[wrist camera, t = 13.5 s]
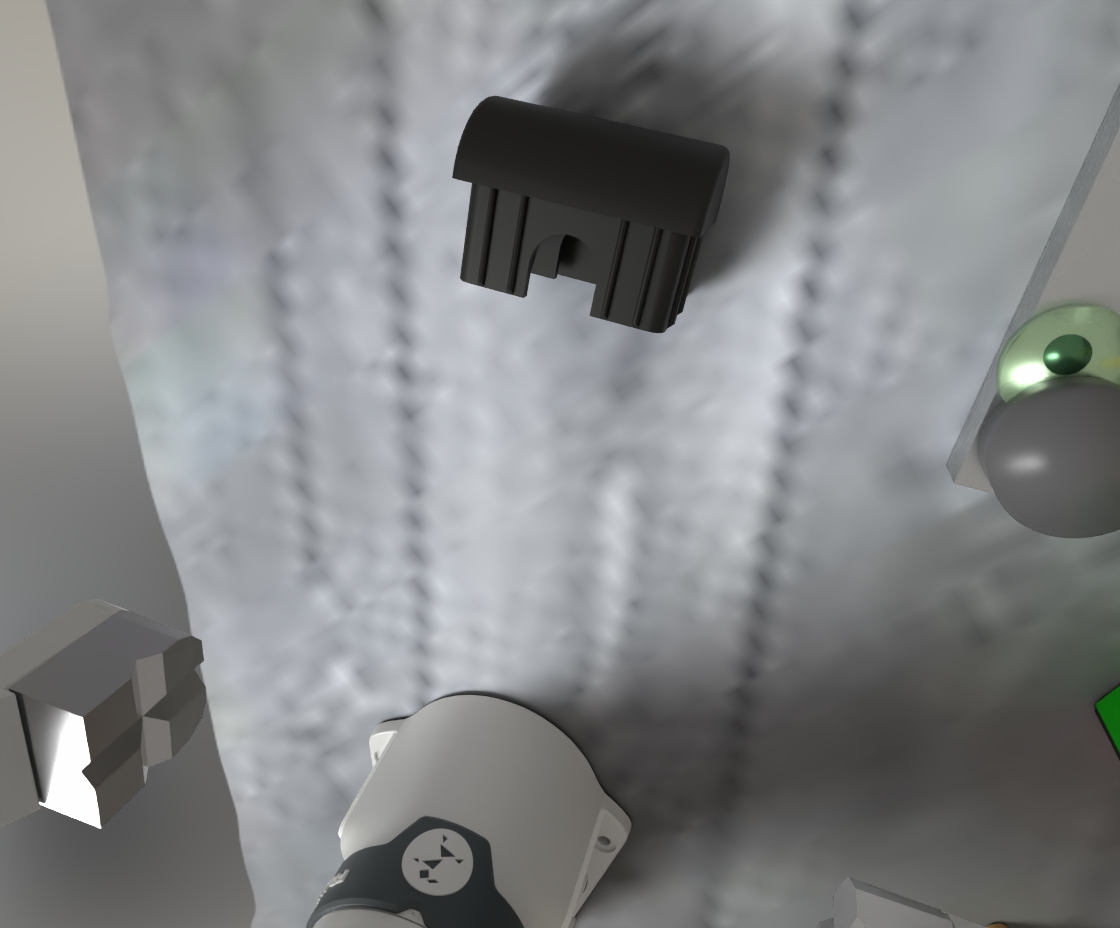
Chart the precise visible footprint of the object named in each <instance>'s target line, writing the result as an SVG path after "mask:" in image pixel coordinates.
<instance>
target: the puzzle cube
mask: <svg viewBox="0 0 1120 928" xmlns="http://www.w3.org/2000/svg"><path fill="white" fill-rule="evenodd" d="M1094 705H1095V713H1096V715H1097V717H1098V719H1099V721H1100V723H1101V725H1102V727H1103V729H1104V730H1105V732H1106V734H1107V736H1108V738H1109V740H1110V742H1111V744H1112V746H1113V748H1114V750H1115V752H1116V754H1117V756H1118V758H1119V760H1120V685H1119V686H1118V687H1117V688H1115V689H1114V690H1113V691H1111V692H1110V693H1109V694H1108V695H1106V696H1105V697H1104V698H1102V699H1101V700H1100V701H1098V702H1097V703H1096V704H1094Z"/></svg>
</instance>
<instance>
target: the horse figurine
mask: <svg viewBox="0 0 1120 928" xmlns="http://www.w3.org/2000/svg"><path fill="white" fill-rule="evenodd" d="M987 928H1008V927H1007V926H1006V925H1003V924H1000V923H997V924H992V925H989V926H988V927H987Z"/></svg>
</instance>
